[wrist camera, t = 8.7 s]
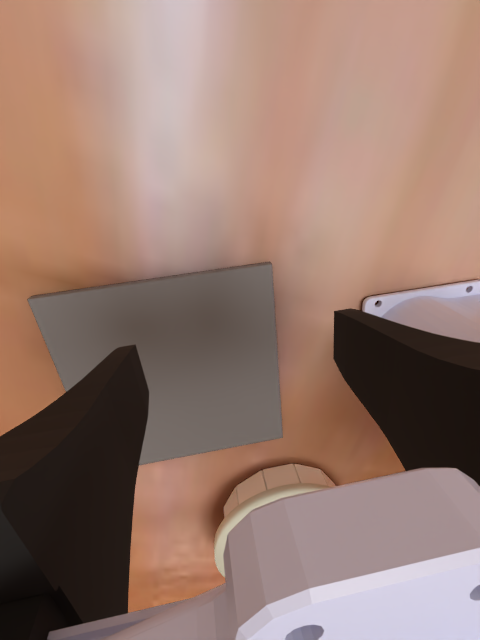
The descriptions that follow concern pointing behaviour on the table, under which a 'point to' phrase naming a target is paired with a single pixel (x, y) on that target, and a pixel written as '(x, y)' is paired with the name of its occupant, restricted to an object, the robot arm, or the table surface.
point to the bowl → (275, 482)
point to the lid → (249, 505)
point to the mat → (180, 353)
